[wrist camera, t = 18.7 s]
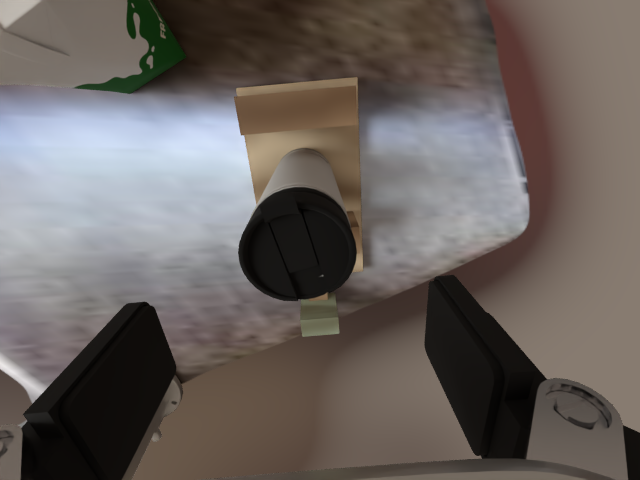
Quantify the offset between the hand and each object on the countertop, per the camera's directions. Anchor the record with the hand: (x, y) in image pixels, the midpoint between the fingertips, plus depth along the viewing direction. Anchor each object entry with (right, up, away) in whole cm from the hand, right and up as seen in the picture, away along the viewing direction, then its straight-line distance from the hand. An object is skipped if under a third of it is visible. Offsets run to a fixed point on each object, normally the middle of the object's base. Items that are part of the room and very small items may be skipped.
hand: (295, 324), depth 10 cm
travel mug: (-1, +10, +23) cm, 25 cm away
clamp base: (-1, +9, +25) cm, 26 cm away
